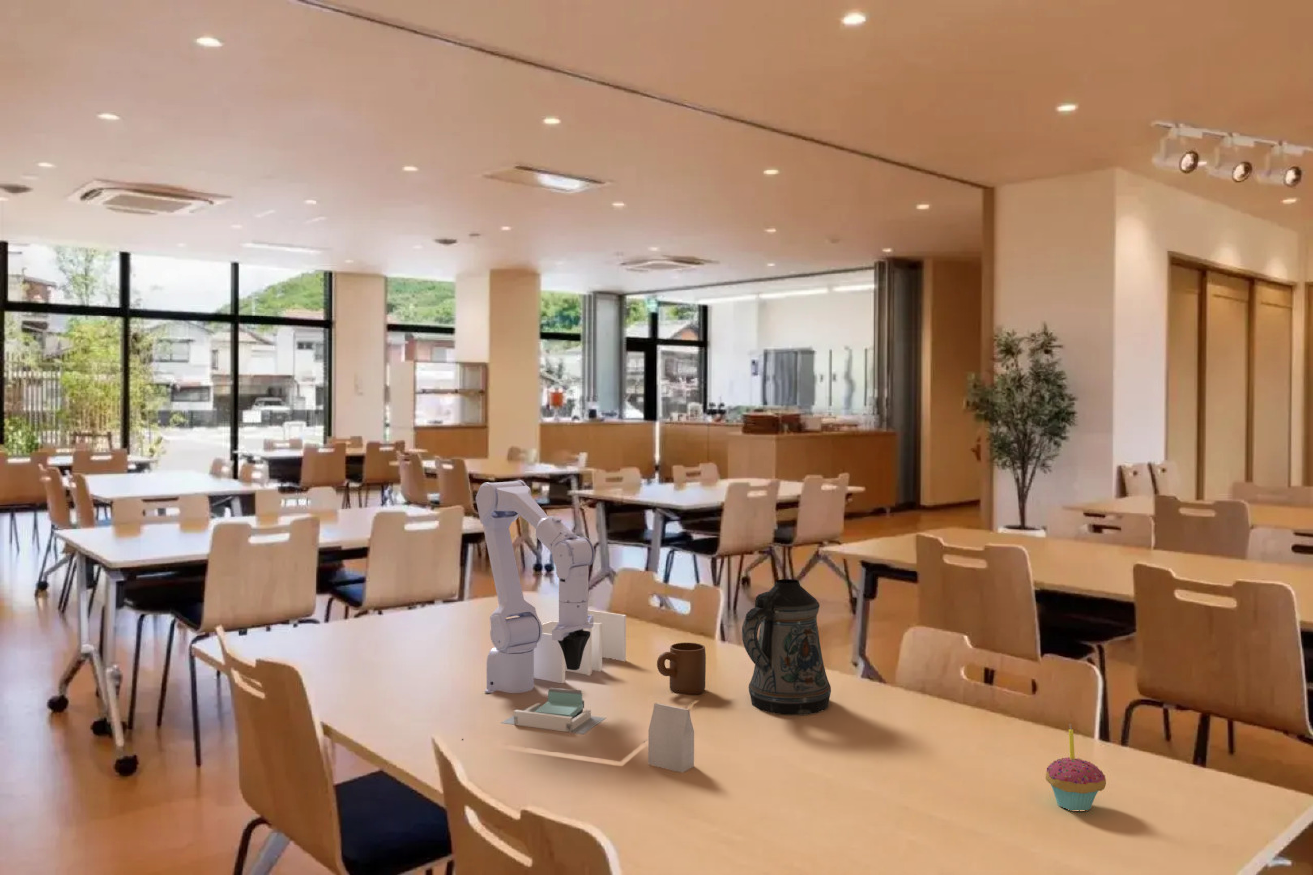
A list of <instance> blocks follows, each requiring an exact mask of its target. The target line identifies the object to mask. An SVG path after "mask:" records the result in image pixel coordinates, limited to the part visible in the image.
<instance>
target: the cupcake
mask: <svg viewBox="0 0 1313 875" xmlns="http://www.w3.org/2000/svg"><path fill="white" fill-rule="evenodd" d="M1074 737H1075V736H1074V729H1073V728H1072V724H1071V723H1069V729H1068V741H1069V742H1068V744H1069V746H1068V747H1069V756H1068V757H1061V758H1057V760H1053V761H1052V762H1051V763H1050V764H1049V765H1047V767H1046V772H1045V781H1046V782H1047V783H1048V784H1049V785H1050V786H1051V787H1052V791H1053V794H1054V797H1055V801H1056V804H1057V806H1058V805H1059V806H1058V807H1060V806H1061V807H1063V808H1066V809H1069V810H1079V811H1080V810H1089V809H1090V808H1091V809H1092V805H1093V804H1094V800H1095V798H1096V796H1097V794H1098V792H1101V791H1103V790H1104V789H1105V788H1106V785H1107V779H1106V775H1105V774H1104V773H1103V771H1102V770H1100V768H1099V767H1098V766H1096V764H1094V763H1092V762H1091V761H1088V760H1083V759H1082V758H1075V757H1076V756H1075V740H1074ZM1061 807H1060V808H1061ZM1063 808H1062V809H1063ZM1091 809H1090V810H1091ZM1069 810H1068V811H1069ZM1090 810H1089V811H1090Z"/></svg>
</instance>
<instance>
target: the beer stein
mask: <svg viewBox="0 0 1313 875" xmlns="http://www.w3.org/2000/svg"><path fill="white" fill-rule="evenodd" d="M819 610H820V602H819V601H818V600H817V599H816V598H815V597H814V595H812V594H811V593H810V592H808V591H807V590H806V589H805V588H804V587H802V585H801V583H800V581H799V580H798V579H792V578H791V579H790V578H789V579H788V578H782V579H777V580H776V581H775V583H774V585H773V586H772V587H771V589H770V590H769V591H766V592H762V593H758V595H757V596H756V597H755V600H754V607H752V608H751V609H750V610H749V611H747V612H746V615H745V618H744V620H743V623H742V627H741V638H742V639H741V640H742V644H743V647H744V648H745V651H746V653H747V655H748V657H749V658H750V660H751V661H752V663H753V664H754V668H753V669H754V670H753V672H752V677H751V680H750V682H749V684H748V693H749V697H750V701H751V705H752V706H753V707H755V708H756V709H758V710H759V711H763V712H766V713H770V714H775V715H781V716H807V715H813V714H818V713H820V712H823V711H826V710H827V709H828V707H829V705H830V704H829V703H830V697H831V693H832V686H831V683H830V682H829V679H828V676H827V673H826V672H827V671H826V668H825V665H824V664H825V663H824V659H823V655H822V649H821V647H822V646H821V643H820V635H819V628H818V621H817V617H818V614H819ZM758 632H759V633H758Z"/></svg>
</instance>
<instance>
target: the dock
mask: <svg viewBox="0 0 1313 875" xmlns="http://www.w3.org/2000/svg"><path fill="white" fill-rule="evenodd" d="M540 707H541V703H539V702H536V703H535V704H532V705H531V706H529V707H525V708H524V709H515V710H513V715H512V716H510V717H509V718H507V719H505V720H503V721H502V722H501V724H506V725H508V724H509V725H514V726H521V727H528V728H535V729H536V728H537V729H540V730H541V729H542V730H549V731H550V730H551V731H556V732H564V733H571V734H578V735H584V734H586V733H588V732H589V731H590V730H591V729H593V728H594V727H596V726H598V725H599V724H600V723H602V722H603V721H605V719H606V717H601V716H595V715H594V716H593V715H592V710H591V709H585V710H583V712H582V713H581V714H580V715H577V714H576V715H575V716H574V717H573V718H572V717H568V716H561V715H553V714H546V713H538V712H534V711H536V710H537V709H538V708H540Z"/></svg>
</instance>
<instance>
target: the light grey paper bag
mask: <svg viewBox="0 0 1313 875" xmlns="http://www.w3.org/2000/svg"><path fill="white" fill-rule="evenodd" d="M647 738H648V740H647V741H648V748H647V749H648V753H647V754H648V763H647V764H650V765H649V766H652V765H654V766H653V767H656V766H657V768H660V767H661V769H664V768H667V769H666V770H669V769H670V770H669V771H673V772H677V771H678V772H677V773H681V772H683V773H685V772H687V771H688V770H690V769H691V768H693V767H695V730H694V727H693V722H692V718H691V714H690V709H688V708H687V709H686V708H684V707H683V708H681V707H678V706H672V705H667V704H663V703H658V702H655V703H654V704H653V709H652V714H651V719H650V722H649V726H648V737H647Z"/></svg>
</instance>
